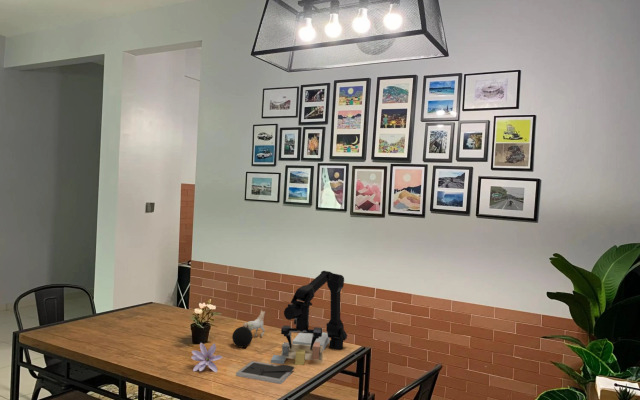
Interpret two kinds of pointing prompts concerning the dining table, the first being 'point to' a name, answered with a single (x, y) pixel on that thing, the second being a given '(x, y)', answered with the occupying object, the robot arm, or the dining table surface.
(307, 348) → the shelf tray
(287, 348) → the bookend
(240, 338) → the decorative ball
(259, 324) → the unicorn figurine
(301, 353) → the olive yellow block
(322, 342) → the skincare box
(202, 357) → the water lily
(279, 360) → the blue book lying
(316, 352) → the salmon pink box
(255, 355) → the dining table surface
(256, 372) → the picture frame
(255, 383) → the dining table surface
